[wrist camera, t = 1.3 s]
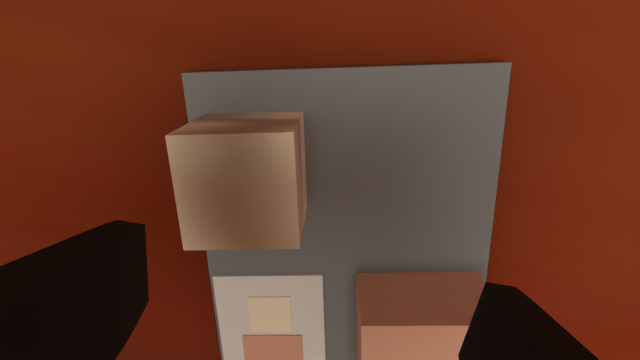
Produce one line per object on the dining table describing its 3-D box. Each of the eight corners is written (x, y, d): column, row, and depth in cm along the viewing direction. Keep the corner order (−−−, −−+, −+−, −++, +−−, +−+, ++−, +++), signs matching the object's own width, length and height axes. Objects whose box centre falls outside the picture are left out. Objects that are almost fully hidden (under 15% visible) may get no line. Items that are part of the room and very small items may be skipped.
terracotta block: (356, 367, 22) (361, 434, 18) (356, 272, 20) (361, 326, 16) (466, 367, 22) (494, 435, 18) (476, 271, 20) (510, 325, 16)
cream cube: (216, 205, 19) (183, 250, 15) (204, 114, 18) (164, 135, 14) (307, 204, 19) (300, 248, 15) (303, 111, 18) (293, 132, 13)
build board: (230, 381, 24) (226, 395, 23) (189, 71, 18) (181, 73, 17) (467, 381, 23) (472, 395, 22) (502, 61, 18) (511, 62, 17)
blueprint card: (228, 381, 23) (226, 385, 22) (213, 274, 20) (211, 277, 20) (326, 381, 22) (326, 385, 22) (322, 273, 20) (322, 276, 20)
